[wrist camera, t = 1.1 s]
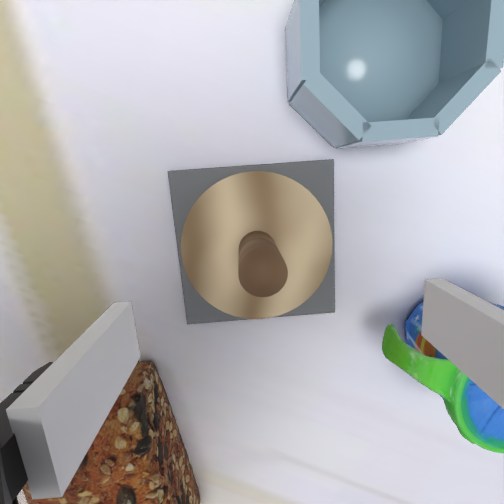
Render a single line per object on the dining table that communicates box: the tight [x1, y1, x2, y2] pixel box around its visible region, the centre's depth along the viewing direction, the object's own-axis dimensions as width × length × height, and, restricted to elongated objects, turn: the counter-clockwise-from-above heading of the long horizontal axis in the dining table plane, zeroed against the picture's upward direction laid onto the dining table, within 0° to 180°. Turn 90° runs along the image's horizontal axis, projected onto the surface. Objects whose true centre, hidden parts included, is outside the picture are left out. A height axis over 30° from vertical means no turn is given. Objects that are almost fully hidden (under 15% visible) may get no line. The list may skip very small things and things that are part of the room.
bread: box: [22, 362, 200, 504], centre depth 29 cm, size 19×11×10 cm, turn 12°
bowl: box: [285, 0, 504, 148], centre depth 23 cm, size 13×13×6 cm
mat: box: [168, 159, 335, 324], centre depth 29 cm, size 14×14×1 cm
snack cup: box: [382, 302, 504, 453], centre depth 27 cm, size 16×10×10 cm
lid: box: [181, 171, 332, 319], centre depth 25 cm, size 13×13×8 cm
